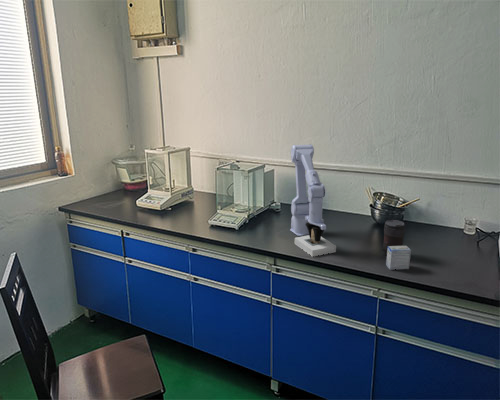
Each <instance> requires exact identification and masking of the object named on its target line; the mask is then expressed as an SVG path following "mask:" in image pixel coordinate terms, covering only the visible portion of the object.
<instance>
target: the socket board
mask: <svg viewBox="0 0 500 400" xmlns="http://www.w3.org/2000/svg"><path fill="white" fill-rule="evenodd" d="M294 245H295V246H297V247H298V248H300V249H301V250H302V249H303V250H302V251H304V252H305V253H306V252H307V253H306V254H308V255H309V254H310V255H311V257H312V258H314V257H318V255H319V256H322V255H323V254H324V255H328V253H329V254H332V253H336V252H337V246H336V244H334V243H332V242H330V241H329V240H328V239H325V238H324V237H323V236H321V239H320V243H317V244H312V243H311V238H310V236H309V234H308V235H302V236H297V237H294ZM313 256H314V257H313Z"/></svg>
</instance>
